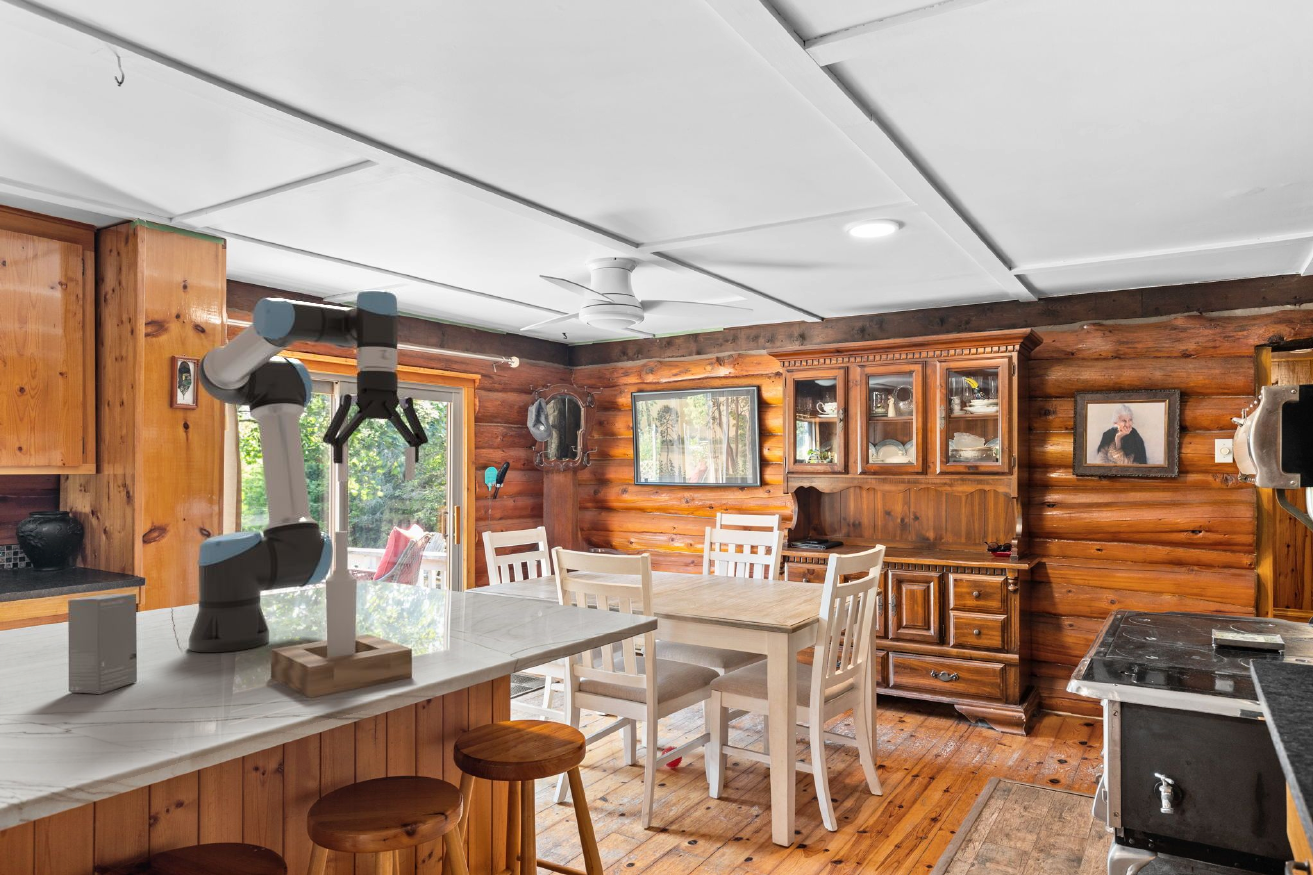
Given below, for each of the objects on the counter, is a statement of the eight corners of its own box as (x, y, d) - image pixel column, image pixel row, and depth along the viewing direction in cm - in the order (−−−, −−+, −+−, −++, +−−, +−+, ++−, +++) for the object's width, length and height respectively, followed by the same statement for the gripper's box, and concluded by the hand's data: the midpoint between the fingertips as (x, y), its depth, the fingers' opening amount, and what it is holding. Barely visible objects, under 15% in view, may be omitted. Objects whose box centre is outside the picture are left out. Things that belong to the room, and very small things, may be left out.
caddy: (270, 677, 148) (271, 649, 149) (368, 659, 161) (368, 633, 161) (309, 697, 135) (309, 666, 135) (412, 677, 148) (411, 648, 148)
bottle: (363, 670, 149) (362, 530, 150) (341, 677, 145) (341, 533, 145) (341, 667, 152) (341, 530, 152) (319, 674, 147) (319, 532, 147)
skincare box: (99, 695, 138) (100, 599, 138) (63, 693, 139) (64, 598, 140) (140, 681, 146) (141, 591, 147) (106, 680, 148) (106, 590, 148)
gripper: (320, 365, 150) (320, 482, 150) (444, 373, 167) (445, 479, 167) (304, 368, 156) (304, 481, 155) (426, 376, 173) (427, 478, 172)
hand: (377, 480), depth 161 cm, fingers open, 13 cm apart
